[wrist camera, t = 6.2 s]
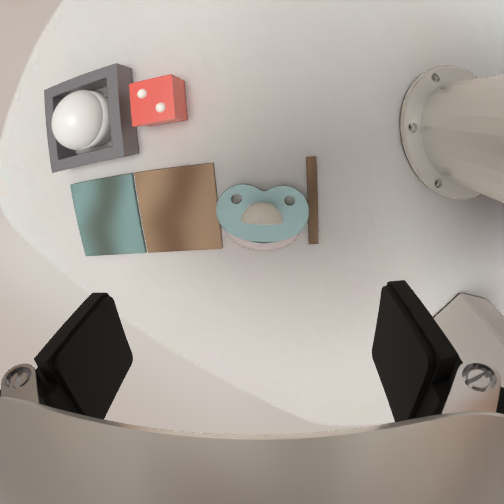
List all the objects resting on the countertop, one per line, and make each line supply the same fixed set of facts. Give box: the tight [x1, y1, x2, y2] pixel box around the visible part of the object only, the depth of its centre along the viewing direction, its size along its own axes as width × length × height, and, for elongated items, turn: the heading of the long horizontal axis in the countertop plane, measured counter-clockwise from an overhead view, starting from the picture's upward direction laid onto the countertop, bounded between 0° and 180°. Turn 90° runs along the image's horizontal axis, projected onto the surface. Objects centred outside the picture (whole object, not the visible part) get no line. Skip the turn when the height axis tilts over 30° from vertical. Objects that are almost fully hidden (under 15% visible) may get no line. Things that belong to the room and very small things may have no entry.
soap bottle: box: [434, 293, 504, 388], centre depth 20 cm, size 10×9×22 cm
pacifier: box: [216, 184, 309, 251], centre depth 24 cm, size 7×6×6 cm
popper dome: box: [52, 90, 111, 150], centre depth 21 cm, size 5×5×5 cm
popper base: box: [44, 63, 187, 173], centre depth 22 cm, size 13×8×4 cm, turn 95°
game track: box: [70, 157, 318, 256], centre depth 27 cm, size 23×8×1 cm, turn 95°
